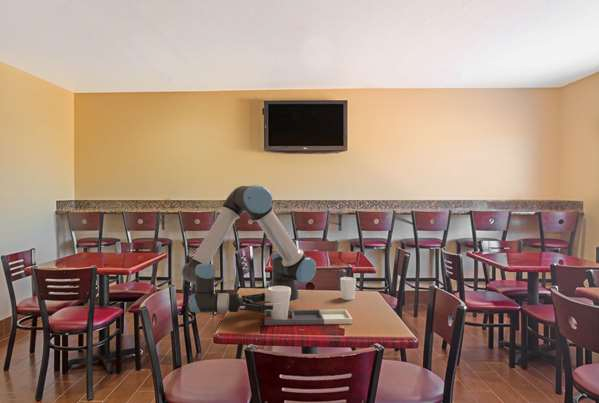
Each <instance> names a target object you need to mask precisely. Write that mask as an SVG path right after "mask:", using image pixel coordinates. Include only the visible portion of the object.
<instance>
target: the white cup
mask: <svg viewBox="0 0 599 403" xmlns="http://www.w3.org/2000/svg"><path fill="white" fill-rule="evenodd" d="M339 281H340V282H339V283H340V298H341V300H344V301H345V300H346V301H352V300H355V298H356V285H357V278H356V277H350V276H344V277H340V280H339Z"/></svg>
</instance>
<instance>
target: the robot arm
mask: <svg viewBox="0 0 599 403" xmlns="http://www.w3.org/2000/svg"><path fill="white" fill-rule="evenodd" d="M274 206H275V205H274V204H273V197H272V194H271V192H270V191H269V190H268V188H266V187H264V186H262V185H261V186H260V185H257V184H255V185H241V186H238V187H236V188H234V189H233V191H231V192H230V194H229V195H228V196H227V197H226V199H225V200H224V202H223V204H222V205H221V207H220V210H221V211H220V213H219V214H218V216H217V218H216V219H215V221H214V222H213V224H212V226H211V227H210V229H209V230H208V232H207V234H206V235H205V236H204V239H203V240H202V242H201V243H200V244H199V247H198V248H197V250H196V251H195V253H194V254H193V256H192V258H191V260H190V261H189V262H188V263H185V264H183V265H182V267H181V270H180V275H181V277H182V278H183V280H184V281H186V282H188V283H191V284H193V285H195V291H194V292H195V293H191V294H190V296H189V304H188V305H189V310H190V312H191V313H199V314H203V313H220V314H221V315H222V314H223V313H228V312H229V313H238V312H239V311H247V312H248V311H249V312H253V313H262V314H265V311H276V310H281V303H270V301H269V295H268V294H266V293H265V292H262V293H254V294H248V295H241V297H240V295H239V293H238V292H237V293H235V292H233V293H228V292H226V293H225V292H224V293H223V292H222V293H215V277H216V275H215V274H216V272H215V266H214V264H211V263H210V262H211V261H212V259H213V257H214V256H215V255H216V253H217V251H218V249H219V247H220V246H221V244H222V243H223V241H224V240H225V238H226V236H227V234H228V233H229V232H230V230H231V228H232V227H233V225H234V223H235V222H236V220H238V219H240V218H241V216H242V214H243V213H246V214H247V215H248V217H249V218H250V220H251V221H253V222H257V224H258V225H259V227H260V228H261V230H262V231H263V233H264V234H265V235H266V236H267V239H269V241H270V242H271V244H272V246H273V247H274V249H275V250H276V251H277V252H276V251H274V253H273V254H272V258H271V261H272V262H271V263H272V270H271V271H272V273H271V274H272V276H271V277H272V278H271V285H270V287H273V286H287V287H290V288H291V295H290V301H293V300H296V299H298V298H299V291H298V287H297V284H296V282H298V283H309V282H310V281H312V279H313V278H314V277H315V275H316V273H317V264H316V261H315V260H314V259H313V258H311V257H308V256H307V255H306V253H305V251H303V249H302V248H298V247H297V245H296V244H295V242H294V241H293V240H292V238H291V237H290V234H289V233H288V231H287V230H286V229H285V226H283V224H282V222H281V221H280V220H279V218H278V216H277V215H276V214H275V212H274ZM261 302H266V303H261ZM268 302H269V303H268Z"/></svg>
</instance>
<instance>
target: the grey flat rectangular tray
mask: <svg viewBox="0 0 599 403" xmlns="http://www.w3.org/2000/svg"><path fill="white" fill-rule="evenodd" d="M267 316H271V311H265V313H264V326H285V325H286V326H289V325H290V326H292V325H293V326H294V325H295V326H297V325H301V326H302V325H347V324H348V325H349V324H353V317H352V316H351V314H350V313H349V312H348V310H347V309H341V308H340V309H337V308H336V309H288V316H291V318H287V319H273V320H272V319H267Z"/></svg>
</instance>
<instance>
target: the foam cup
mask: <svg viewBox="0 0 599 403" xmlns="http://www.w3.org/2000/svg"><path fill="white" fill-rule="evenodd" d="M267 293H268V294H267V295H269V301H268V302H269V303H281V310H276V311H271V315H270V317H271V320H273V319H288V316H289V315H288V310H289V308H290V301H291V300H290V295H291V288H290V287H287V286H273V287H271V286H270V287H268V290H267Z"/></svg>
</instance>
